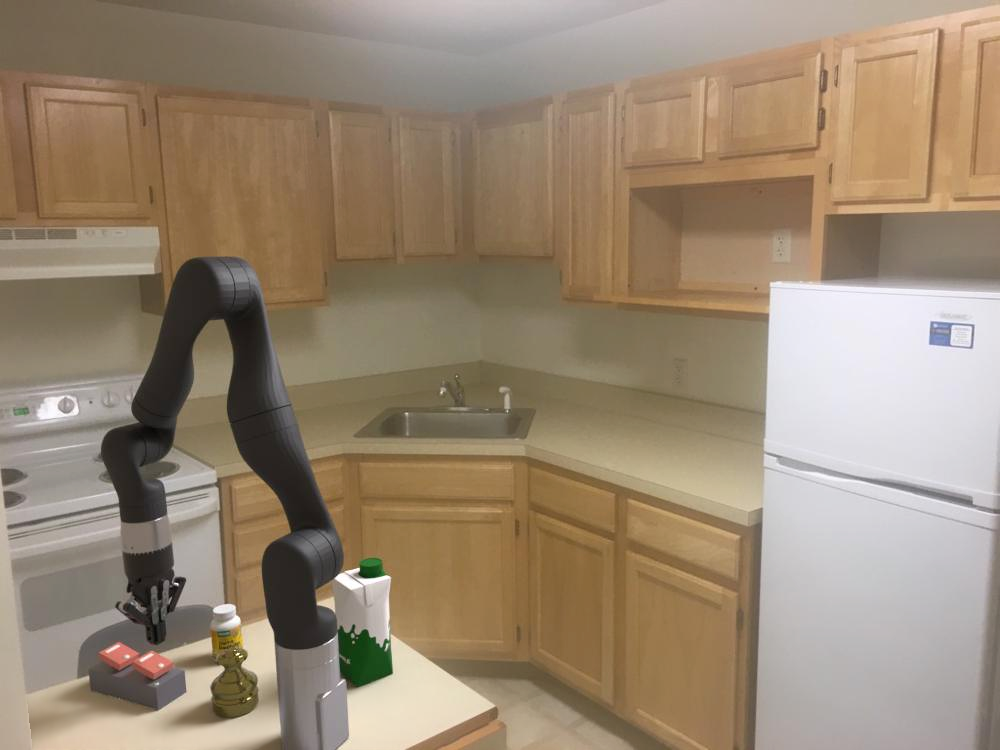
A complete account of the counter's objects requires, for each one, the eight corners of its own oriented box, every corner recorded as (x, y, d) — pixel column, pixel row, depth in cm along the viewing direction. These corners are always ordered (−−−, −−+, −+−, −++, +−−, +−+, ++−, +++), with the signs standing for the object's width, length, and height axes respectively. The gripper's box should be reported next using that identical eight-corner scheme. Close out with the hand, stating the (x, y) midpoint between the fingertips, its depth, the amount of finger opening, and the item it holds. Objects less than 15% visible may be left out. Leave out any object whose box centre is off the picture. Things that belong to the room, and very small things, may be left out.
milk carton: (400, 674, 139) (395, 566, 136) (353, 692, 134) (347, 579, 131) (376, 654, 146) (371, 551, 143) (331, 671, 141) (324, 564, 138)
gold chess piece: (268, 697, 133) (264, 642, 131) (240, 722, 126) (235, 663, 124) (232, 690, 135) (228, 635, 134) (202, 714, 128) (197, 656, 127)
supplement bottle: (239, 647, 150) (235, 599, 149) (247, 658, 146) (243, 609, 144) (209, 655, 147) (205, 607, 146) (217, 667, 143) (213, 617, 141)
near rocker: (172, 671, 134) (173, 661, 134) (153, 683, 131) (154, 672, 130) (151, 660, 136) (151, 649, 136) (131, 671, 132) (132, 660, 132)
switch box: (186, 691, 135) (184, 669, 134) (158, 710, 130) (156, 687, 129) (120, 673, 142) (117, 652, 141) (90, 690, 136) (88, 668, 136)
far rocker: (138, 662, 138) (139, 652, 137) (118, 674, 134) (119, 663, 133) (118, 651, 139) (118, 641, 139) (98, 661, 136) (99, 651, 135)
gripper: (129, 560, 122) (140, 665, 124) (194, 532, 134) (204, 629, 136) (95, 554, 125) (107, 657, 127) (162, 527, 137) (172, 622, 139)
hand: (157, 642), depth 132 cm, fingers closed
